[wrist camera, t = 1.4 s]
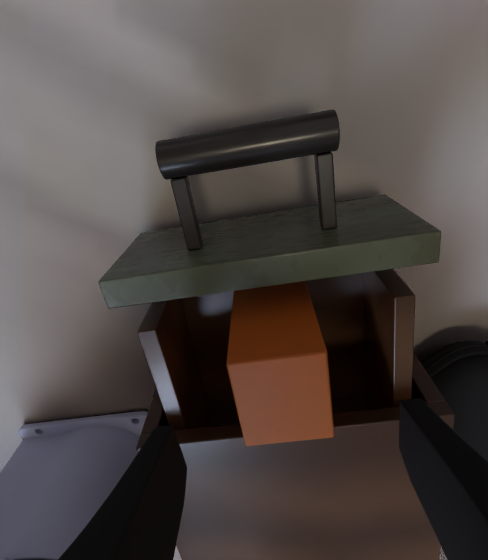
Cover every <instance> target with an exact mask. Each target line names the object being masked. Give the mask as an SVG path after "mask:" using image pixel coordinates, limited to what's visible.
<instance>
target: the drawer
mask: <svg viewBox="0 0 488 560" xmlns="http://www.w3.org/2000/svg"><path fill="white" fill-rule="evenodd" d="M339 142H340V129H339V121H338V116H337V113H336V111H335V110H327V111H322V112H316V113H311V114H305V115H300V116H294V117H288V118H283V119H277V120H272V121H266V122H261V123H255V124H250V125H244V126H239V127H233V128H228V129H222V130H216V131H211V132H205V133H200V134H194V135H189V136H183V137H178V138H172V139H167V140H161V141H158V142H156V149H155V150H156V158H157V163H158V166H159V169H160V172H161V174H162V176H163V178H164V179H166V180H168V179H172V180H171V185H172V189H173V193H174V197H175V201H176V205H177V209H178V213H179V217H180V221H181V225H182V227H177V228H170V229H164V230H158V231H151V232H145V233H140V235H139V236H138V237H137V238H136V239H135V240H134V241H133V243H132V244H131V245H130V246H129V247H128V248H127V249H126V251H125V252H124V253H123V254H122V255H121V256H120V257H119V259H118V260H117V261H116V262H115V263H114V264H113V265H112V267H111V268H110V269H109V270H108V271H107V272H106V273H105V275H104V276H103V277H102V278H101V279H100V280H99V282H98V283H99V286H100V288H101V291H102V294H103V296H104V299H105V302H106V304H107V307H108V308H109V309H110V308H117V307H124V306H131V305H138V304H145V303H152V304H151V306H150V308H149V310H148V312H147V314H146V315H145V317H144V319H143V321H142V323H141V325H140V327H139V329H138V331H137V334H138V337H139V340H140V342H141V345H142V348H143V351H144V354H145V357H146V360H147V363H148V366H149V368H150V371H151V374H152V377H153V380H154V383H155V386H156V389H157V392H158V394H159V397H160V400H161V403H162V406H163V409H164V412H165V415H166V417H167V420H168V423H169V426H170V425H173V427H174V430H175V431H176V430H185V429H194V428H203V427H213V426H222V425H231V424H240V421H239V417H238V413H237V408H236V404H235V400H234V395H233V391H232V387H231V383H230V378H229V374H228V370H227V365H226V363H227V353H228V343H229V332H230V322H231V312H232V302H233V291H238V290H245V289H252V288H259V287H266V286H273V285H280V284H287V283H294V282H302V281H305V282H306V285H307V288H308V291H309V295H310V298H311V301H312V304H313V308H314V311H315V314H316V317H317V321H318V324H319V327H320V330H321V334H322V337H323V340H324V343H325V347H326V350H327V355H328V366H329V378H330V390H331V402H332V414H333V413H342V412H351V411H361V410H370V409H379V408H388V407H397V406H400V400H409V399H411V397H412V371H413V344H414V318H415V294H414V293H413V292H412V291H411V289H410V288H409V287H408V286H407V285H406V284H405V283H404V281H403V280H402V279H401V278H400V277H399V276H398V275H397V273H396V272H395V271H394V270H393V269H394V268H401V267H408V266H415V265H422V264H430V263H437V262H439V255H440V240H441V231H440V230H438V229H437V228H435V227H434V226H432V225H431V224H429V223H428V222H426V221H425V220H423V219H422V218H420V217H419V216H417V215H416V214H414V213H413V212H411V211H410V210H408V209H406V208H405V207H403V206H402V205H400V204H399V203H397V202H396V201H394V200H393V199H391V198H390V197H388V196H387V195H379V196H372V197H366V198H360V199H354V200H347V201H341V202H336V200H335V183H334V166H333V154H332V153H331V152H332V151H337V150H338V148H339ZM309 155H314V158H315V170H316V182H317V195H318V205H316V206H309V207H303V208H297V209H290V210H284V211H278V212H271V213H265V214H259V215H252V216H246V217H240V218H233V219H227V220H221V221H215V222H208V223H202V224H198V219H197V215H196V210H195V206H194V202H193V197H192V193H191V188H190V184H189V180H188V176H192V175H197V174H203V173H209V172H215V171H221V170H227V169H233V168H238V167H244V166H250V165H256V164H262V163H268V162H274V161H280V160H285V159H291V158H297V157H303V156H309Z"/></svg>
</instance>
